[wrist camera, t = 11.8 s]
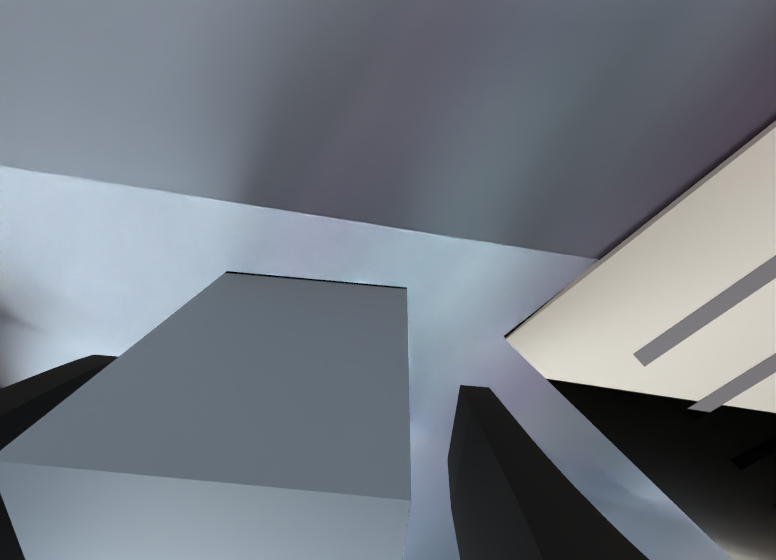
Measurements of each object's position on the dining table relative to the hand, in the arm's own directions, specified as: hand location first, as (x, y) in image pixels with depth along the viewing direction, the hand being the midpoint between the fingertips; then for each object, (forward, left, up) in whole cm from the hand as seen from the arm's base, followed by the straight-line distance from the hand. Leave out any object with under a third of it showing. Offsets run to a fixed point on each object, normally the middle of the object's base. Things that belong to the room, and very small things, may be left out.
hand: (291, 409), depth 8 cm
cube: (0, 0, -2) cm, 2 cm away
